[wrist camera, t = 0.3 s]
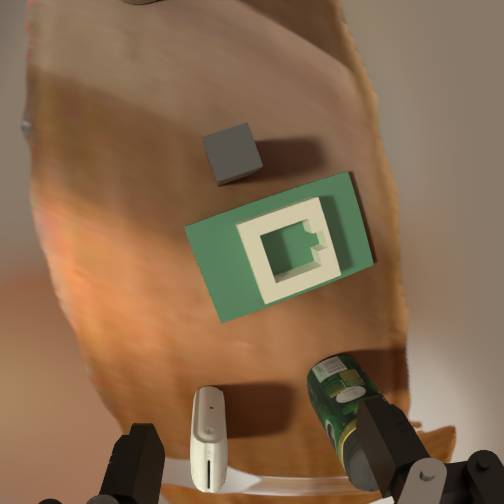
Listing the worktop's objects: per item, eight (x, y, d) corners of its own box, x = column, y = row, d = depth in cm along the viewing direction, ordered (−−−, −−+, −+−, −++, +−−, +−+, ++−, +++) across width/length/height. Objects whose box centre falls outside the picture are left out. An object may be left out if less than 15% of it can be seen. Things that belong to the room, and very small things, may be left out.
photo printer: (193, 383, 40) (188, 445, 28) (225, 385, 40) (230, 447, 28) (193, 438, 41) (190, 499, 29) (222, 439, 42) (226, 500, 30)
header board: (185, 226, 36) (181, 229, 32) (343, 171, 37) (358, 169, 33) (221, 319, 39) (222, 333, 34) (369, 262, 39) (385, 269, 35)
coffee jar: (361, 396, 43) (420, 476, 25) (312, 414, 43) (355, 506, 24) (354, 344, 41) (426, 422, 23) (300, 363, 41) (349, 458, 23)
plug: (206, 154, 35) (202, 137, 25) (245, 140, 35) (256, 120, 26) (217, 186, 36) (217, 181, 26) (257, 172, 36) (272, 163, 26)
